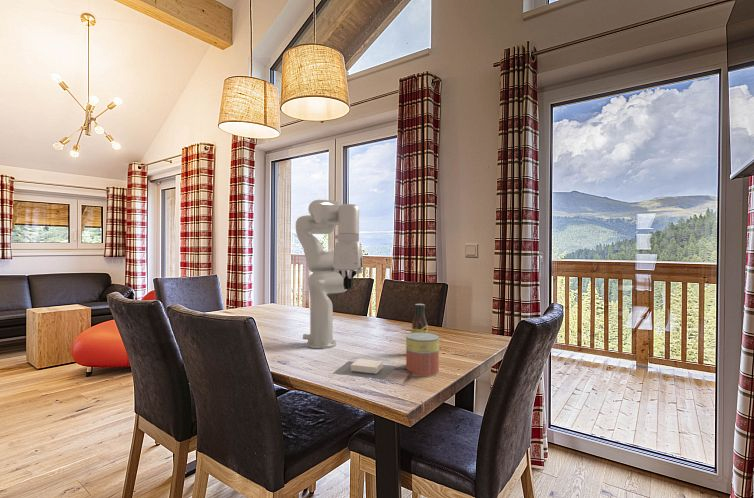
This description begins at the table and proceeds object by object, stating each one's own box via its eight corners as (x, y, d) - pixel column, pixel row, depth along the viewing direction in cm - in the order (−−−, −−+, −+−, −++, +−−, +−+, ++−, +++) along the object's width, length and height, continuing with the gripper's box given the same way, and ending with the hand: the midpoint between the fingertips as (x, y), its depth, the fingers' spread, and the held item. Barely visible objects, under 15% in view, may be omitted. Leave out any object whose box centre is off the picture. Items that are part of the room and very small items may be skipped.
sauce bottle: (427, 357, 147) (427, 305, 147) (410, 356, 149) (411, 305, 148) (428, 352, 154) (428, 303, 154) (412, 351, 155) (412, 302, 155)
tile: (351, 364, 128) (376, 367, 125) (358, 358, 134) (383, 361, 131) (351, 371, 128) (376, 374, 125) (358, 365, 134) (383, 368, 131)
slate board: (332, 376, 126) (332, 373, 126) (348, 363, 139) (348, 361, 139) (384, 382, 120) (384, 379, 120) (396, 368, 134) (396, 366, 134)
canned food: (417, 363, 140) (417, 330, 140) (445, 370, 132) (445, 335, 132) (399, 371, 131) (399, 336, 131) (427, 379, 124) (427, 342, 124)
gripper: (325, 238, 138) (324, 289, 138) (363, 238, 133) (363, 291, 133) (334, 238, 145) (333, 286, 145) (371, 238, 140) (370, 288, 140)
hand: (348, 288), depth 139 cm, fingers closed
